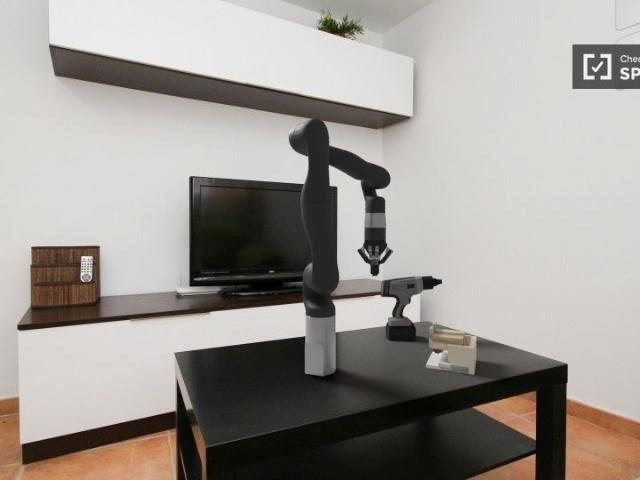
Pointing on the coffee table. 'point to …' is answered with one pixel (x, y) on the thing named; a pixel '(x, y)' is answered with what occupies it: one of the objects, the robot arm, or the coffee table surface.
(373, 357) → the coffee table surface
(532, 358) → the coffee table surface
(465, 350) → the dock
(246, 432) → the coffee table surface
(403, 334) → the cordless drill
